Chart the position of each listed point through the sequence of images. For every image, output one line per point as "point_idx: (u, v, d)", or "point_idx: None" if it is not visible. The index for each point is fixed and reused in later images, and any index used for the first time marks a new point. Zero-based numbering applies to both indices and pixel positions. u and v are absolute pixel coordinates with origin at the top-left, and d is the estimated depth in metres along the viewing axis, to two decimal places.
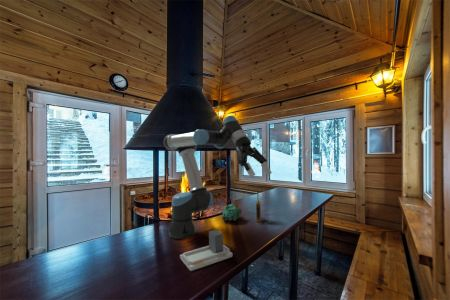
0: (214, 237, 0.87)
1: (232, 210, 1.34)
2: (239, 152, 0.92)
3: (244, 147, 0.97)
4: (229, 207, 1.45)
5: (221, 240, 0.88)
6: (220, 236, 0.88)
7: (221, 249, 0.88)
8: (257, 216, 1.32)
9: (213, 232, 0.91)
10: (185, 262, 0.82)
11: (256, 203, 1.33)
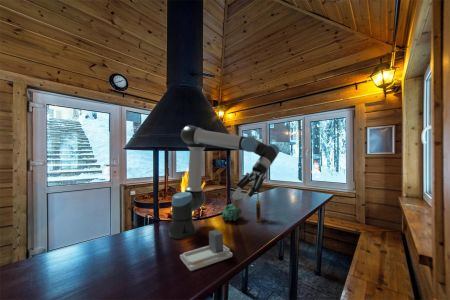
0: (214, 237, 0.87)
1: (232, 210, 1.34)
2: (262, 181, 0.99)
3: None
4: (229, 207, 1.45)
5: (221, 240, 0.88)
6: (220, 236, 0.88)
7: (221, 249, 0.88)
8: (257, 216, 1.32)
9: (213, 232, 0.91)
10: (185, 262, 0.82)
11: (256, 203, 1.33)
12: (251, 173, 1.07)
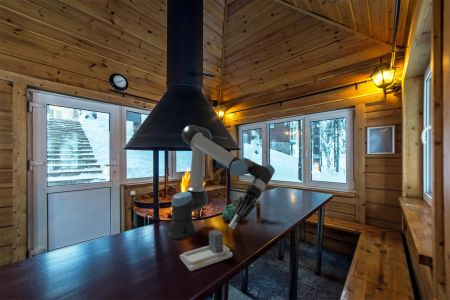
0: (214, 237, 0.87)
1: (232, 210, 1.34)
2: (252, 208, 0.96)
3: None
4: (229, 207, 1.45)
5: (221, 240, 0.88)
6: (220, 236, 0.88)
7: (221, 249, 0.88)
8: (257, 216, 1.32)
9: (213, 232, 0.91)
10: (185, 262, 0.82)
11: None
12: (245, 196, 1.02)
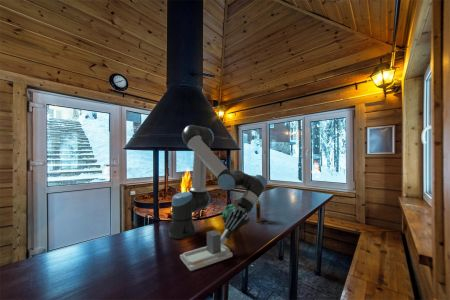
0: (211, 238, 0.87)
1: None
2: (242, 222, 0.92)
3: None
4: (229, 207, 1.45)
5: (219, 241, 0.88)
6: (217, 237, 0.87)
7: (219, 250, 0.88)
8: (257, 216, 1.32)
9: (211, 233, 0.90)
10: (185, 262, 0.82)
11: (256, 203, 1.33)
12: (236, 209, 0.98)
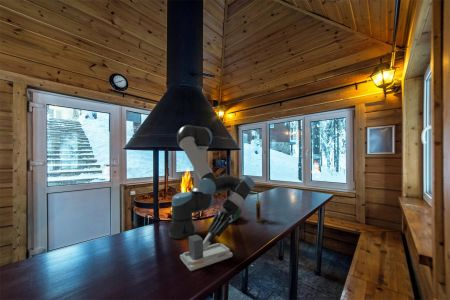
0: (193, 243, 0.82)
1: None
2: (226, 226, 0.87)
3: None
4: None
5: (201, 246, 0.83)
6: (199, 242, 0.83)
7: (201, 255, 0.83)
8: (257, 216, 1.32)
9: (193, 237, 0.85)
10: (185, 262, 0.82)
11: (256, 203, 1.33)
12: (221, 212, 0.93)
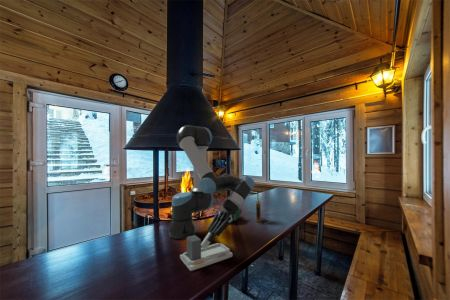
0: (191, 243, 0.82)
1: None
2: (226, 226, 0.88)
3: None
4: None
5: (199, 246, 0.82)
6: (197, 243, 0.82)
7: (199, 256, 0.82)
8: (257, 216, 1.32)
9: (191, 238, 0.85)
10: (185, 262, 0.82)
11: (256, 203, 1.33)
12: (221, 212, 0.94)
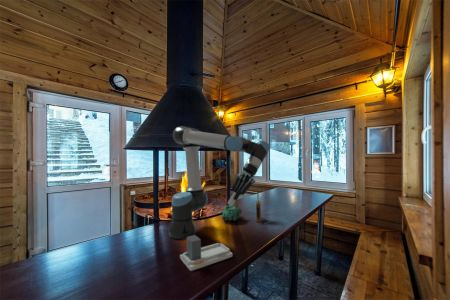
0: (191, 243, 0.82)
1: (232, 210, 1.34)
2: (249, 185, 1.00)
3: None
4: (229, 207, 1.45)
5: (199, 246, 0.82)
6: (197, 243, 0.82)
7: (199, 256, 0.82)
8: (257, 216, 1.32)
9: (191, 238, 0.85)
10: (185, 262, 0.82)
11: (256, 203, 1.33)
12: (242, 174, 1.04)
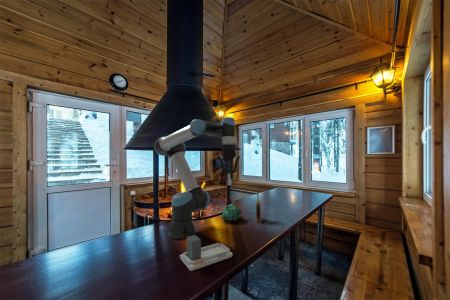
0: (191, 243, 0.82)
1: (232, 210, 1.34)
2: (237, 162, 1.13)
3: None
4: (229, 207, 1.45)
5: (199, 246, 0.82)
6: (197, 243, 0.82)
7: (199, 256, 0.82)
8: (257, 216, 1.32)
9: (191, 238, 0.85)
10: (185, 262, 0.82)
11: (256, 203, 1.33)
12: (226, 155, 1.12)
